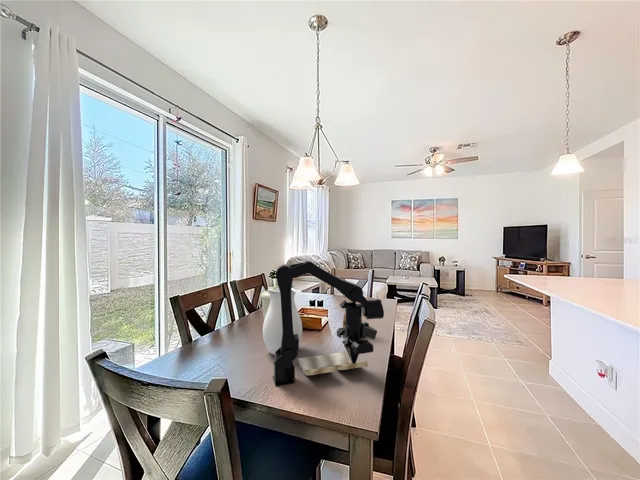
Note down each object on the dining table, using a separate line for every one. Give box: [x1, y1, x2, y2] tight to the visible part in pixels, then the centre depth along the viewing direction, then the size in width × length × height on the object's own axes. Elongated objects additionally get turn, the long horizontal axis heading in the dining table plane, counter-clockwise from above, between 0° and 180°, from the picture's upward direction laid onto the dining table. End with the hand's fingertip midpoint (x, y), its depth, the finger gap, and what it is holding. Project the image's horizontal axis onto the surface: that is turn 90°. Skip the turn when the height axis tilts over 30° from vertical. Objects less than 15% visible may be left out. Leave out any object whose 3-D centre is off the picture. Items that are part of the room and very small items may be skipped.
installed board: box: [297, 351, 359, 375], centre depth 110 cm, size 21×10×2 cm, turn 108°
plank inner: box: [304, 366, 337, 376], centre depth 100 cm, size 9×8×2 cm
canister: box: [259, 285, 279, 320], centre depth 163 cm, size 18×18×21 cm
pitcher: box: [262, 283, 303, 356], centre depth 126 cm, size 24×17×28 cm
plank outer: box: [336, 360, 368, 371], centre depth 103 cm, size 9×8×2 cm
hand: (353, 363), depth 101 cm, fingers closed
